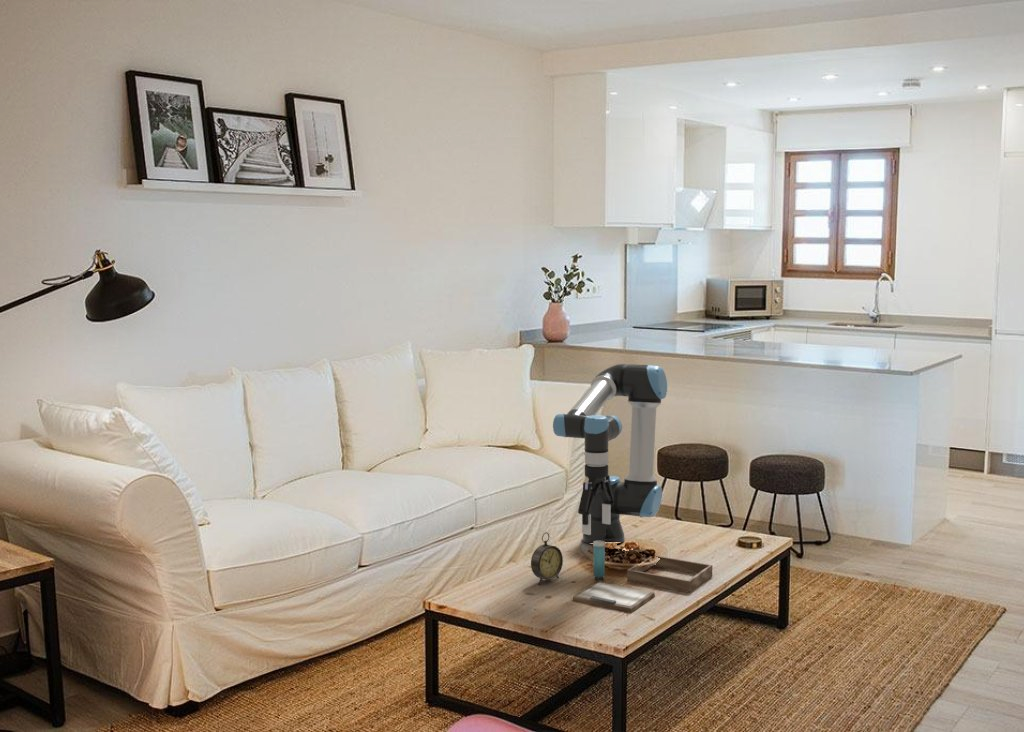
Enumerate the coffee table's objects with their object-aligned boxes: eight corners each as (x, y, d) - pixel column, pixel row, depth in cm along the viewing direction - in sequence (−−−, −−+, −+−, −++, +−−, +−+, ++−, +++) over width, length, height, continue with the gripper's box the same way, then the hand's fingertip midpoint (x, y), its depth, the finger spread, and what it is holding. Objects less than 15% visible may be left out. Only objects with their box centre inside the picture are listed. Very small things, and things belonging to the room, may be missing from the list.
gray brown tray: (651, 564, 350) (651, 554, 350) (712, 575, 339) (712, 565, 338) (627, 580, 335) (627, 570, 335) (689, 592, 323) (689, 581, 323)
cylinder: (596, 576, 339) (596, 539, 337) (607, 578, 337) (607, 541, 335) (591, 580, 336) (591, 542, 334) (601, 582, 334) (601, 544, 332)
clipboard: (597, 585, 331) (597, 579, 331) (654, 596, 320) (654, 590, 320) (572, 600, 318) (572, 594, 318) (631, 612, 307) (631, 606, 307)
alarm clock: (539, 587, 330) (539, 537, 328) (528, 583, 334) (527, 534, 332) (564, 579, 337) (563, 530, 335) (552, 575, 341) (551, 527, 339)
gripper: (604, 455, 344) (604, 517, 346) (566, 470, 323) (567, 536, 325) (624, 457, 340) (624, 521, 342) (588, 473, 319) (588, 540, 321)
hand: (596, 528), depth 334 cm, fingers open, 13 cm apart
